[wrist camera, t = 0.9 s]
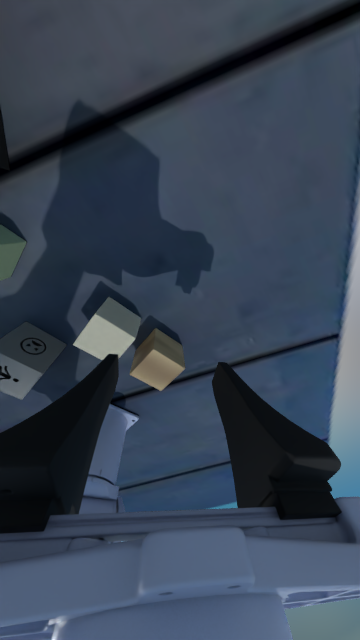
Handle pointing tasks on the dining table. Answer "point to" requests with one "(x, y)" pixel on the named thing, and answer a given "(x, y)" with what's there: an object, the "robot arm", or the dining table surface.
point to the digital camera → (3, 149)
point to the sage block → (9, 251)
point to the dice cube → (26, 358)
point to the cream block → (109, 330)
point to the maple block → (158, 360)
